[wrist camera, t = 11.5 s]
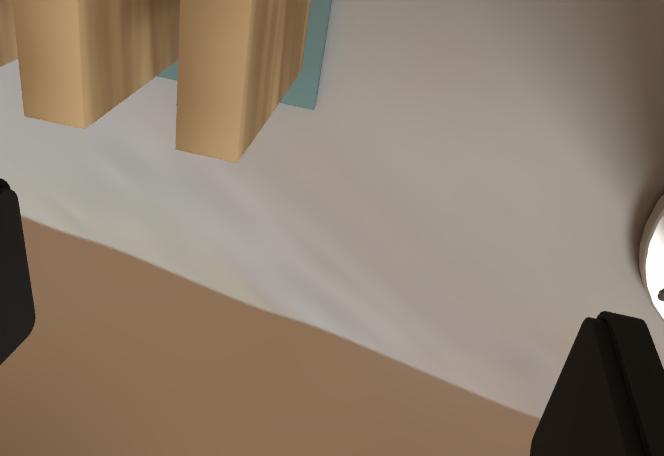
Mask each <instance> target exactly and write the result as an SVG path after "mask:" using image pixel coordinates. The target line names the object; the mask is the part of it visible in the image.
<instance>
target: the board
mask: <svg viewBox="0 0 664 456" xmlns="http://www.w3.org/2000/svg"><path fill="white" fill-rule="evenodd" d="M331 3H332V0H311V7H310V14H309V21H308V28H307V36H306V43H305V50H304V57H303V65H302V71H301V72H300V74H299V75H298V77H297V78H296V80H295V81H294V82H293V84H292V85H291V87H290V88H289V90H288V91H287V92H286V94H285V95H284V97H283V98H282V100H281V101H280V102H279V103H284V104H288V105H293V106H298V107H302V108H307V109H312V110H314V108H315V106H316V100H317V93H318V87H319V80H320V74H321V67H322V61H323V55H324V48H325V42H326V35H327V29H328V22H329V16H330V9H331ZM157 76H158V77H163V78H167V79H172V80H177V81H178V60H177V61H176V62H175V63H173V64H172V65H171V66H169V67H168V68H167V69H165V70H164V71H162V72H161V73H160V74H158V75H157Z"/></svg>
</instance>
